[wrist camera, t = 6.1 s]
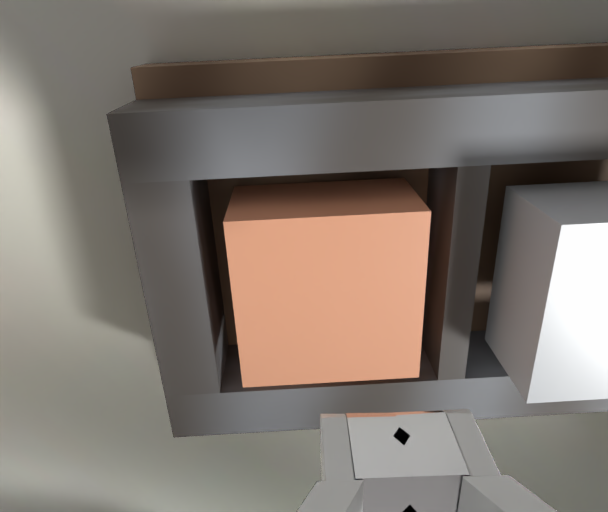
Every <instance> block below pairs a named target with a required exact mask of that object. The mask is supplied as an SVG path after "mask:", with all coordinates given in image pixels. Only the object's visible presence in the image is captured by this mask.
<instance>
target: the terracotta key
mask: <svg viewBox="0 0 608 512" xmlns="http://www.w3.org/2000/svg"><path fill="white" fill-rule="evenodd" d="M430 222H431V210H430V209H429V208H428V206H427V205H426V204H425V203H424V202H423V200H422V199H421V198H420V197H419V195H418V194H417V193H416V192H415V191H414V189H413V188H412V187H411V186H410V184H409V183H408V182H407V181H406V179H405V178H388V179H368V180H349V181H329V182H309V183H290V184H270V185H250V186H234V189H233V192H232V195H231V198H230V202H229V205H228V208H227V211H226V214H225V218H224V221H223V225H224V234H225V242H226V251H227V259H228V267H229V276H230V284H231V292H232V301H233V309H234V318H235V326H236V334H237V343H238V351H239V359H240V368H241V376H242V385H243V388H244V387H261V386H279V385H296V384H313V383H330V382H348V381H365V380H382V379H399V378H417V377H419V371H420V357H421V344H422V330H423V317H424V303H425V290H426V276H427V263H428V249H429V236H430Z"/></svg>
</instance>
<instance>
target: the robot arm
mask: <svg viewBox="0 0 608 512" xmlns="http://www.w3.org/2000/svg"><path fill="white" fill-rule="evenodd" d="M320 448H321V481H317V482H316V483H315V485H314V486H313V488H312V489H311V491H310V492H309V494H308V495H307V497H306V498H305V500H304V501H303V503H302V504H301V506H300V507H299V509H298V510H297V512H558V511H556V510H555V509H554V508H552V507H551V506H550V505H548V504H547V503H546V502H544V501H543V500H542V499H540V498H539V497H538V496H536V495H535V494H534V493H532V492H531V491H530V490H528V489H527V488H526V487H525V486H523V485H522V484H521V483H519V482H518V481H517V480H515V479H514V478H513V477H511V476H510V475H501V474H500V471H499V469H498V467H497V465H496V463H495V461H494V459H493V457H492V455H491V452H490V450H489V448H488V446H487V444H486V442H485V440H484V438H483V436H482V433H481V431H480V429H479V427H478V425H477V423H476V421H475V419H474V417H473V414H472V412H471V411H469V410H468V409H454V410H443V411H441V410H439V411H415V412H393V413H346V414H320Z"/></svg>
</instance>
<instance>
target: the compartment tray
mask: <svg viewBox="0 0 608 512" xmlns="http://www.w3.org/2000/svg"><path fill="white" fill-rule="evenodd" d="M131 73H132V79H133V84H134V90H135V95H136V100H135V101H133V102H131V103H129V104H127V105H124V106H122V107H120V108H118V109H116V110H114V111H112V112H110V113H108V114H107V118H108V123H109V128H110V133H111V138H112V142H113V147H114V152H115V157H116V162H117V167H118V171H119V176H120V181H121V186H122V191H123V195H124V200H125V205H126V210H127V215H128V220H129V224H130V229H131V234H132V239H133V244H134V249H135V253H136V258H137V263H138V268H139V273H140V278H141V282H142V287H143V292H144V297H145V302H146V306H147V311H148V316H149V321H150V326H151V331H152V335H153V340H154V345H155V350H156V355H157V360H158V364H159V369H160V374H161V379H162V384H163V389H164V393H165V398H166V403H167V408H168V413H169V417H170V422H171V427H172V432H173V437H187V436H204V435H221V434H237V433H254V432H271V431H288V430H305V429H320V414H346V413H393V412H415V411H439V410H441V411H443V410H454V409H468V410H469V411H471V412H472V414H473V417H474V419H489V418H506V417H523V416H540V415H557V414H573V413H590V412H607V411H608V399H595V400H578V401H561V402H544V403H526V402H525V400H524V399H523V397H522V396H521V394H520V393H519V391H518V390H517V388H516V386H515V385H514V383H513V382H512V380H511V379H510V377H509V376H508V374H507V373H506V371H505V370H504V368H503V366H502V365H501V363H500V362H499V360H498V359H497V357H496V356H495V354H494V353H493V351H492V350H491V348H490V346H489V345H488V343H487V342H486V340H485V333H486V326H487V319H488V312H489V305H490V298H491V290H492V283H493V276H494V269H495V262H496V255H497V247H498V240H499V233H500V226H501V219H502V212H503V204H504V197H505V190H506V186H516V185H535V184H554V183H574V182H593V181H608V42H606V43H585V44H563V45H542V46H520V47H499V48H477V49H455V50H434V51H412V52H391V53H369V54H348V55H326V56H305V57H283V58H262V59H240V60H219V61H197V62H176V63H154V64H144V65H140V66H136V67H132V68H131ZM388 178H405V179H406V181H407V182H408V183H409V184H410V186H411V187H412V188H413V189H414V191H415V192H416V193H417V194H418V195H419V197H420V198H421V199H422V200H423V202H424V203H425V204H426V205H427V206H428V208H429V209H430V210H431V222H430V236H429V249H428V263H427V276H426V290H425V303H424V317H423V330H422V344H421V357H420V371H419V377H417V378H399V379H382V380H365V381H348V382H330V383H313V384H296V385H279V386H261V387H244V388H243V385H242V376H241V368H240V359H239V351H238V343H237V334H236V326H235V318H234V309H233V301H232V292H231V284H230V276H229V267H228V259H227V251H226V242H225V234H224V225H223V221H224V218H225V214H226V211H227V208H228V205H229V202H230V198H231V195H232V192H233V189H234V186H250V185H270V184H290V183H309V182H329V181H349V180H368V179H388Z"/></svg>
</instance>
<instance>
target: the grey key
mask: <svg viewBox="0 0 608 512" xmlns="http://www.w3.org/2000/svg"><path fill="white" fill-rule="evenodd" d="M485 340H486V342H487V343H488V345H489V346H490V348H491V350H492V351H493V353H494V354H495V356H496V357H497V359H498V360H499V362H500V363H501V365H502V366H503V368H504V370H505V371H506V373H507V374H508V376H509V377H510V379H511V380H512V382H513V383H514V385H515V386H516V388H517V390H518V391H519V393H520V394H521V396H522V397H523V399H524V400H525V402H526V403H544V402H561V401H578V400H595V399H608V181H593V182H574V183H554V184H535V185H516V186H506V190H505V197H504V204H503V212H502V219H501V226H500V233H499V240H498V247H497V255H496V262H495V269H494V276H493V283H492V290H491V298H490V305H489V312H488V319H487V326H486V333H485Z"/></svg>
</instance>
